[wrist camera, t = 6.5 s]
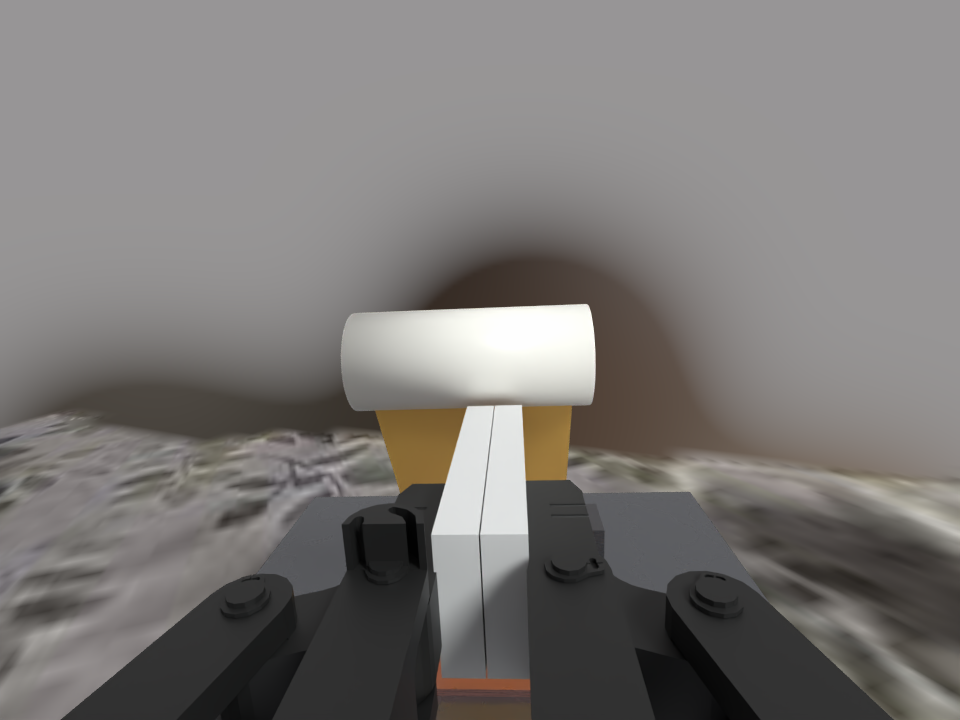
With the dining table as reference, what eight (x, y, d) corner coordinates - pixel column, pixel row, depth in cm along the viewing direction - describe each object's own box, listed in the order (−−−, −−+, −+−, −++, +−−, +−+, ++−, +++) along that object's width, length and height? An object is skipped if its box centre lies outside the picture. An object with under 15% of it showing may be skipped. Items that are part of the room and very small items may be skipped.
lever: (569, 600, 24) (598, 350, 13) (418, 601, 24) (333, 358, 14) (563, 539, 26) (584, 284, 15) (425, 541, 26) (356, 293, 16)
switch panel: (844, 823, 17) (869, 648, 16) (168, 805, 19) (130, 644, 17) (687, 549, 33) (692, 446, 31) (321, 551, 35) (309, 454, 33)
